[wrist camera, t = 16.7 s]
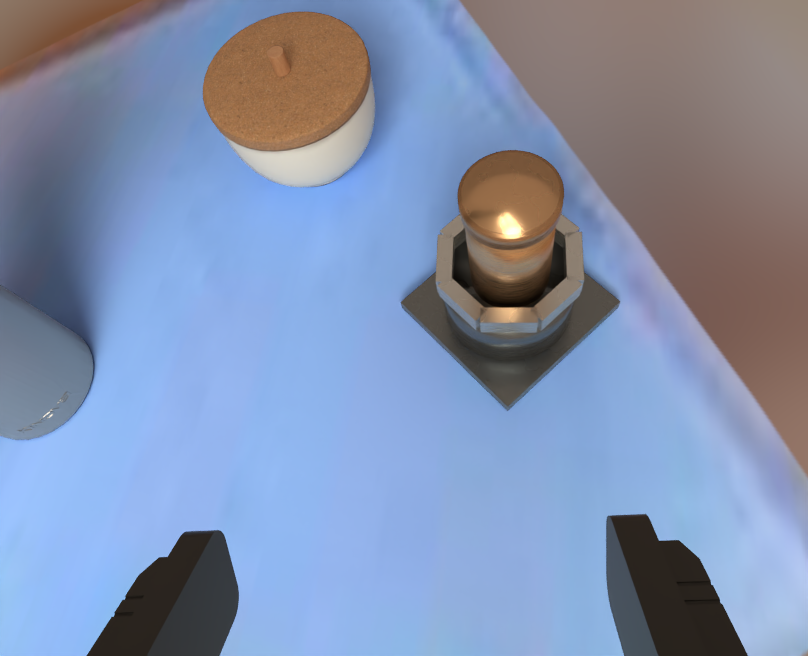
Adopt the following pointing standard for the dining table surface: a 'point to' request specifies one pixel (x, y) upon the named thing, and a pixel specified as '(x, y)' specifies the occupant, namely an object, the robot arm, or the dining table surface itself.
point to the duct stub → (509, 315)
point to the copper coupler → (510, 225)
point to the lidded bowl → (293, 97)
